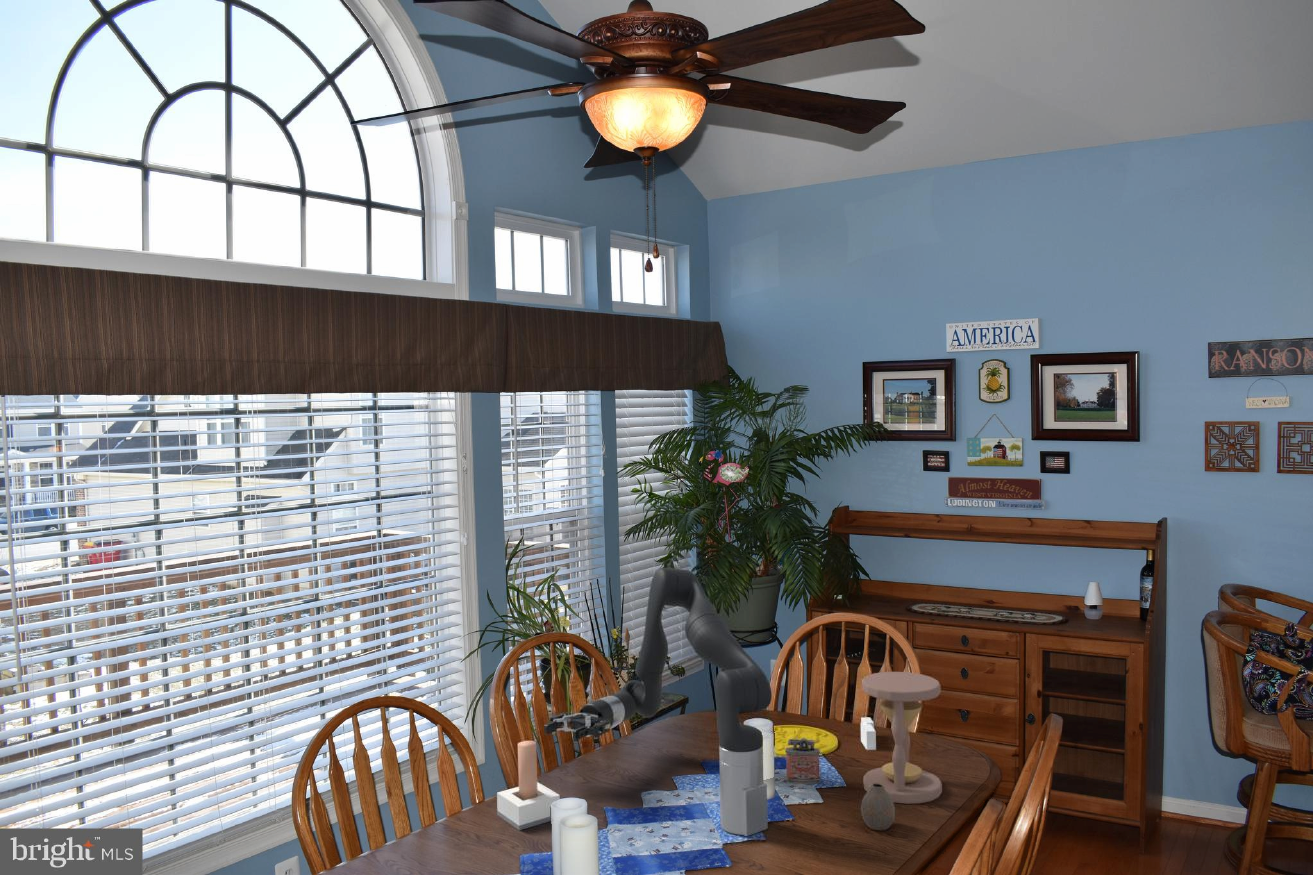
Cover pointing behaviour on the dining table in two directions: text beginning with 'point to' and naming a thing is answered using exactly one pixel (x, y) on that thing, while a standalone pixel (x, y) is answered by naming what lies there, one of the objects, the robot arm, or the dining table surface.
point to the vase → (878, 808)
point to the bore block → (525, 807)
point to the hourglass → (902, 735)
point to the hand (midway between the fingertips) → (559, 732)
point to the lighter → (802, 762)
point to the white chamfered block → (868, 733)
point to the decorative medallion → (820, 737)
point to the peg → (527, 770)
